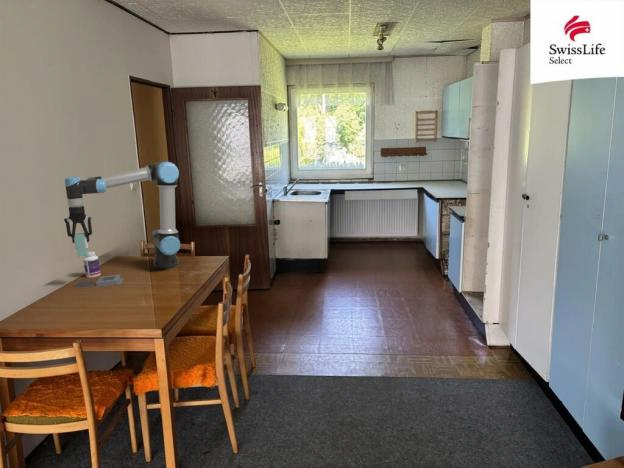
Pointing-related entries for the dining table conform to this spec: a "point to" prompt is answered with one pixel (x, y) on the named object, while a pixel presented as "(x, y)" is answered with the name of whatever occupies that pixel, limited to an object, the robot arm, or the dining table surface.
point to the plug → (81, 244)
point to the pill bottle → (91, 265)
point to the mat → (84, 284)
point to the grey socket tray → (108, 281)
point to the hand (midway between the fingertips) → (82, 248)
